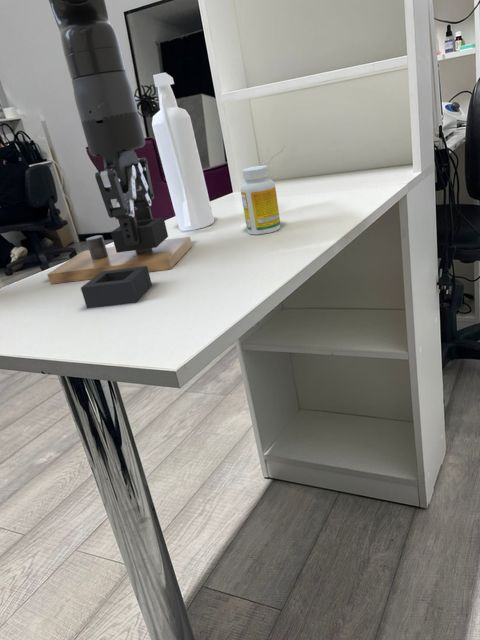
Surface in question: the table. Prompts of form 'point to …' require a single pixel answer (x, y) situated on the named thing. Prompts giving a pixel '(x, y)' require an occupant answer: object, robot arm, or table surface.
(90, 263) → the wooden board
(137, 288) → the dark grey square ring
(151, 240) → the black square holder
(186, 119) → the white spray bottle
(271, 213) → the supplement bottle
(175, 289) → the table surface
